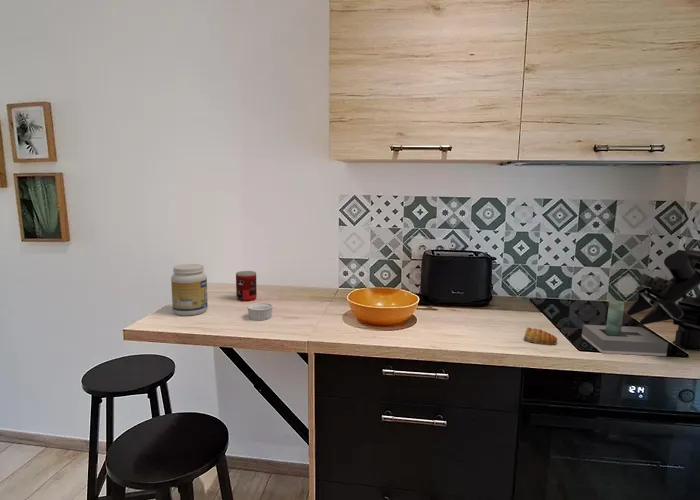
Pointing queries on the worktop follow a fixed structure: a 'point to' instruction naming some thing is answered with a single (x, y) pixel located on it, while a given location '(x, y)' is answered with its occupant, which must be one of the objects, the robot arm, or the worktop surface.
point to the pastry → (539, 337)
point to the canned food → (246, 286)
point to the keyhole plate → (625, 341)
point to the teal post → (614, 318)
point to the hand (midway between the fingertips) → (633, 318)
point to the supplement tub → (189, 289)
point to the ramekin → (260, 311)
